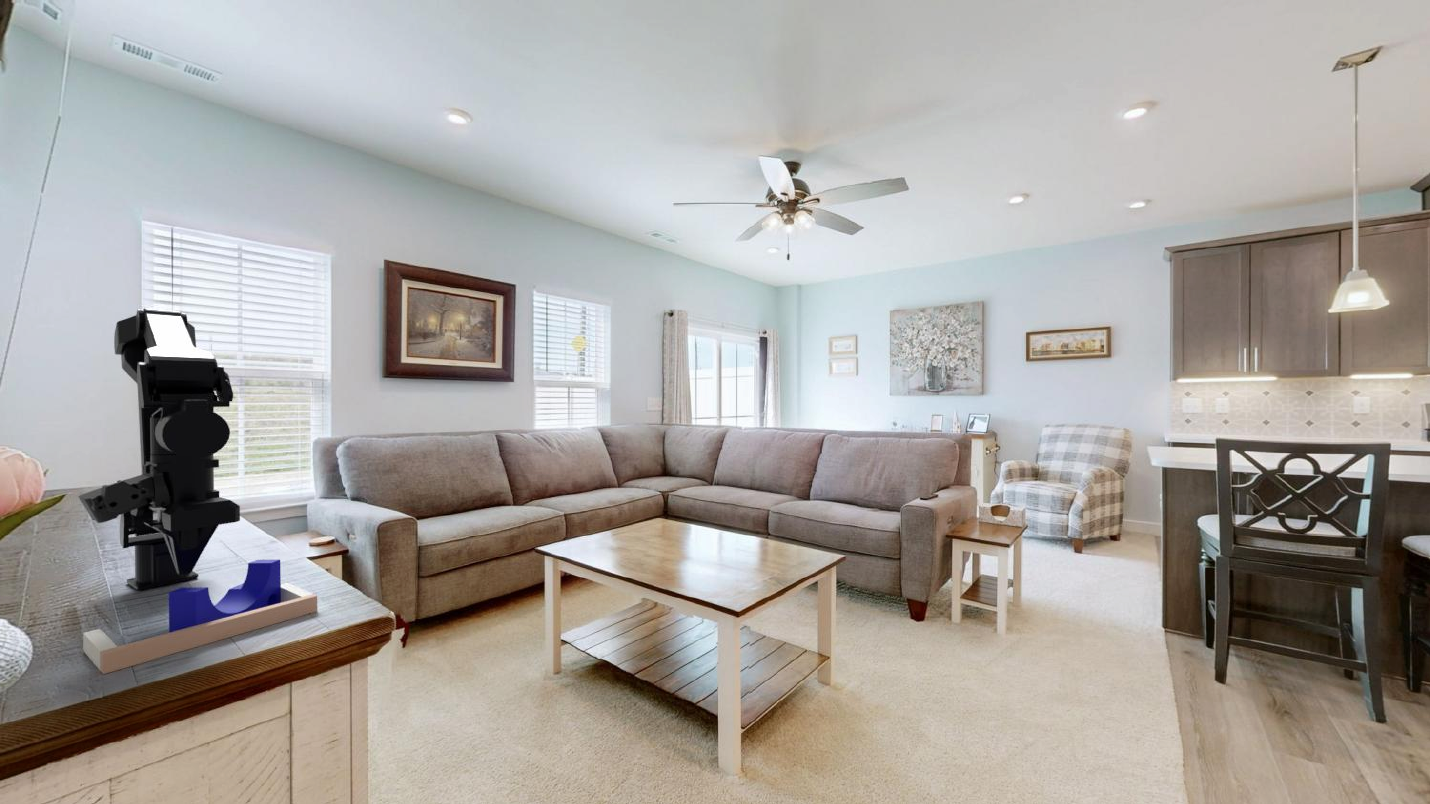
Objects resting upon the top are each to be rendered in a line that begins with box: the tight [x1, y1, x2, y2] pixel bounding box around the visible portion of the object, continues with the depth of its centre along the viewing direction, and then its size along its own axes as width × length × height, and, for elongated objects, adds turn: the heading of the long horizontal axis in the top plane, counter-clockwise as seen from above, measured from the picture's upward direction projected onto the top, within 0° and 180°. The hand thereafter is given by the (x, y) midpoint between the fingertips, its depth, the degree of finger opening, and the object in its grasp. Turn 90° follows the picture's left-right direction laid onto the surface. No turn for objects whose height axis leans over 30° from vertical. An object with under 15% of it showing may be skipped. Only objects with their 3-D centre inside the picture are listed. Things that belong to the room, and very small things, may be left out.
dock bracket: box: [82, 582, 318, 675], centre depth 64 cm, size 9×18×2 cm, turn 148°
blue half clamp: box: [168, 558, 282, 633], centre depth 66 cm, size 12×4×6 cm, turn 1°
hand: (184, 574), depth 69 cm, fingers closed
